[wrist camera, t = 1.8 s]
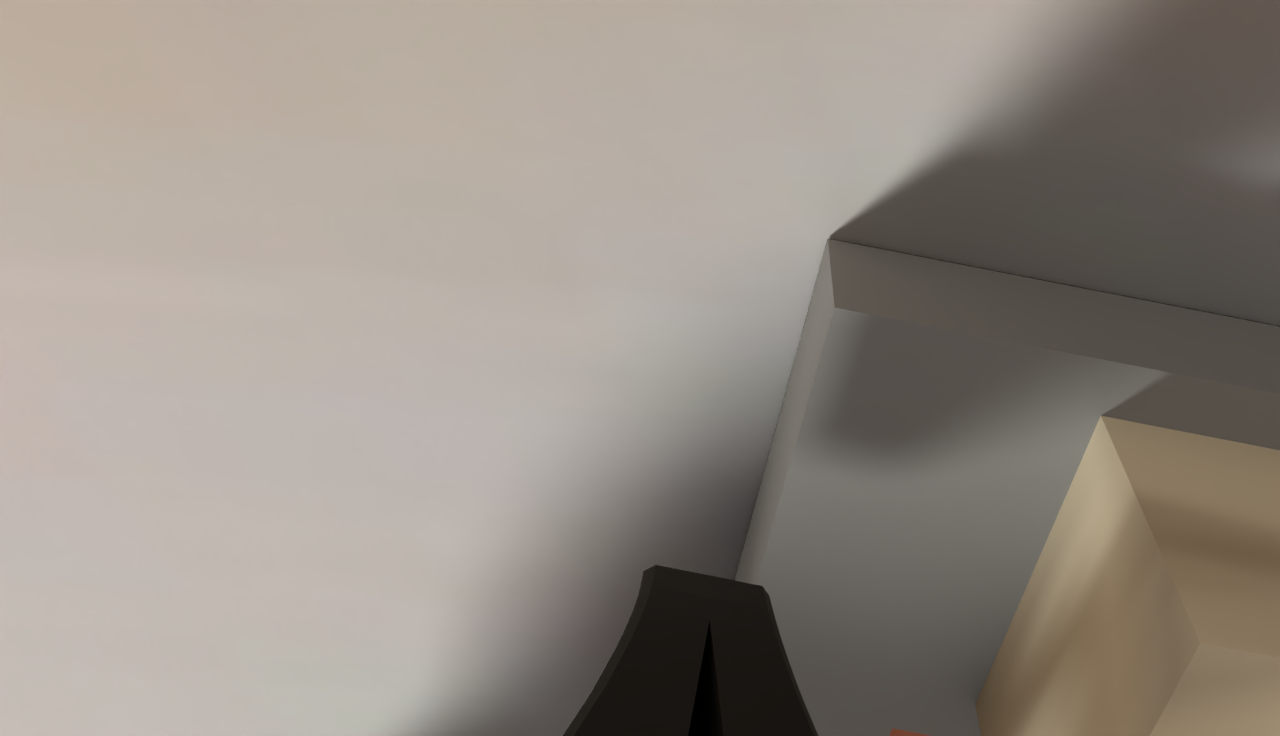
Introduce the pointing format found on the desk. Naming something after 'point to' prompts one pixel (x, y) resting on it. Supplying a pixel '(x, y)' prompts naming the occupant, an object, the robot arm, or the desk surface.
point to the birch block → (1150, 596)
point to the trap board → (957, 464)
